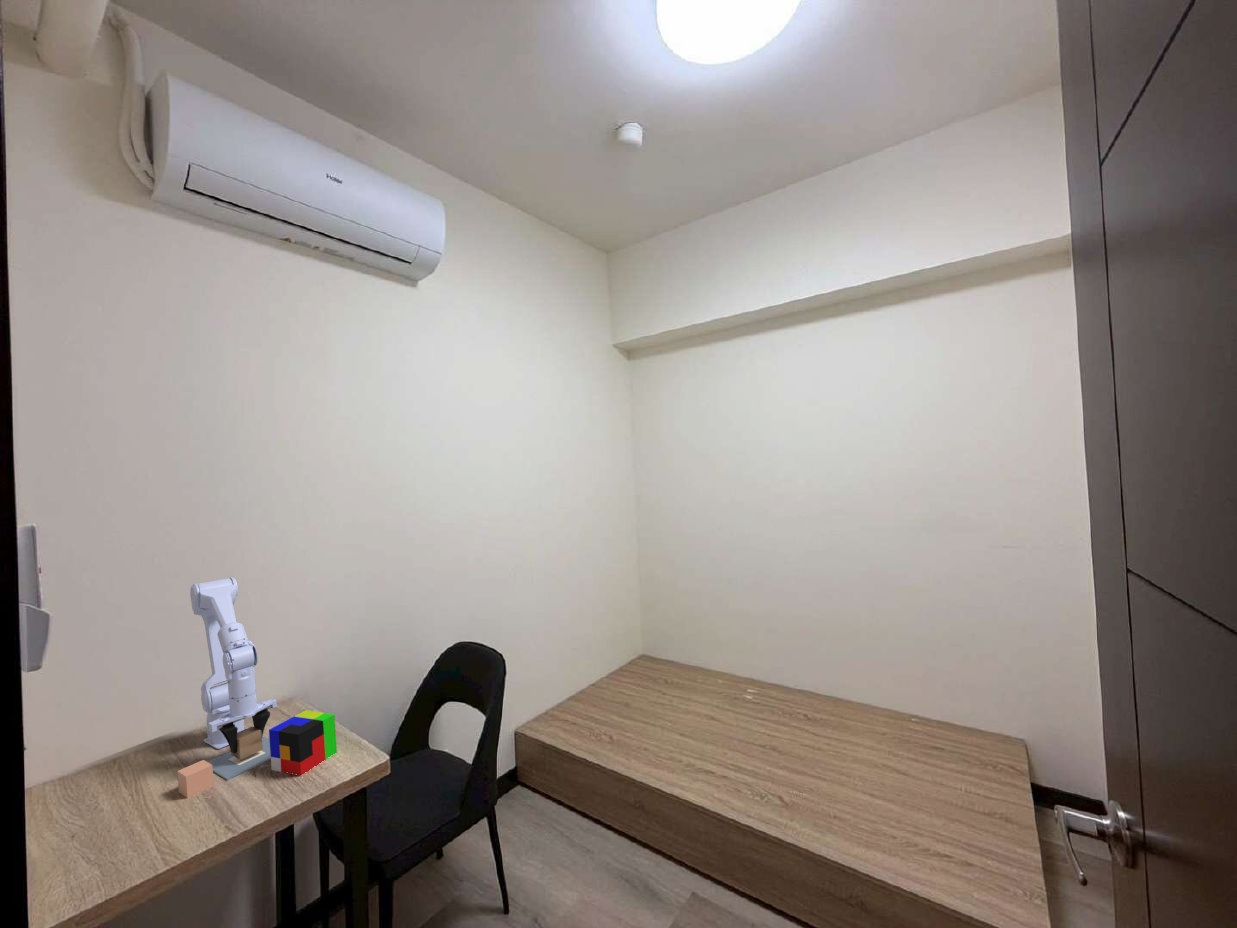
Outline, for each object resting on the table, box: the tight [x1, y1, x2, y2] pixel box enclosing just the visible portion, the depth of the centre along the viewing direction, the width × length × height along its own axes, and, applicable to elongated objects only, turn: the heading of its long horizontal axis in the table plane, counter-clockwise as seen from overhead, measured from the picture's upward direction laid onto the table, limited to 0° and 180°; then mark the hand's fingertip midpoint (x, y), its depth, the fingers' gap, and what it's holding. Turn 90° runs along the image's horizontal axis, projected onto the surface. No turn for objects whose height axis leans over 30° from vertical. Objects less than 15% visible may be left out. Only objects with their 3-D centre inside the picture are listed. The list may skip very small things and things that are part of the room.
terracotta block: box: [177, 759, 215, 799], centre depth 121 cm, size 5×5×5 cm
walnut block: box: [231, 726, 263, 760], centre depth 133 cm, size 5×5×5 cm
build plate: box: [207, 736, 271, 781], centre depth 133 cm, size 14×14×1 cm
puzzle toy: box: [268, 710, 338, 776], centre depth 130 cm, size 10×10×10 cm
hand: (246, 746), depth 133 cm, fingers closed on walnut block, 5 cm apart
